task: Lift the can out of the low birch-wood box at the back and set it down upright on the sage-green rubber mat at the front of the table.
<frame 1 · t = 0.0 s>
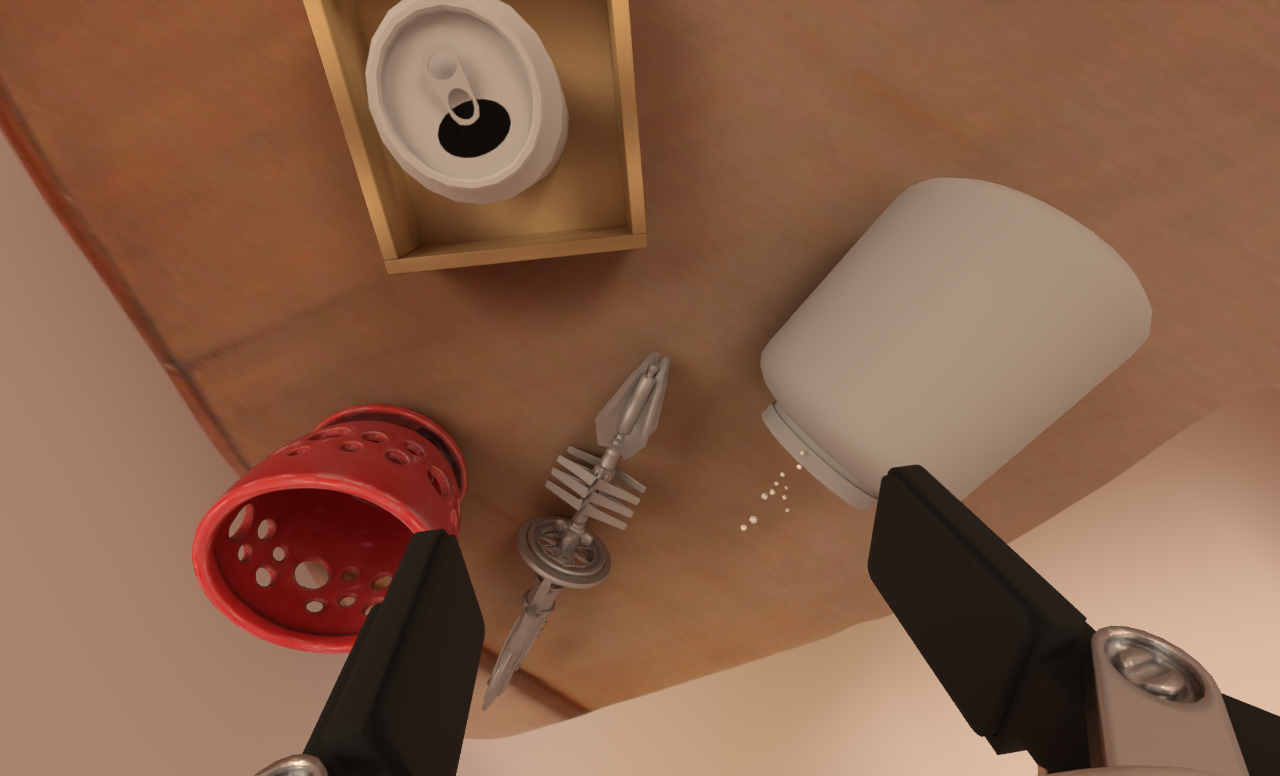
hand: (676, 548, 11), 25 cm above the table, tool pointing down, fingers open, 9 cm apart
spaceship: (566, 515, 42), on the table
jar: (835, 367, 39), on the table
flower pot: (396, 456, 38), on the table
can: (505, 119, 29), resting on wooden box
wooden box: (505, 120, 29), on the table
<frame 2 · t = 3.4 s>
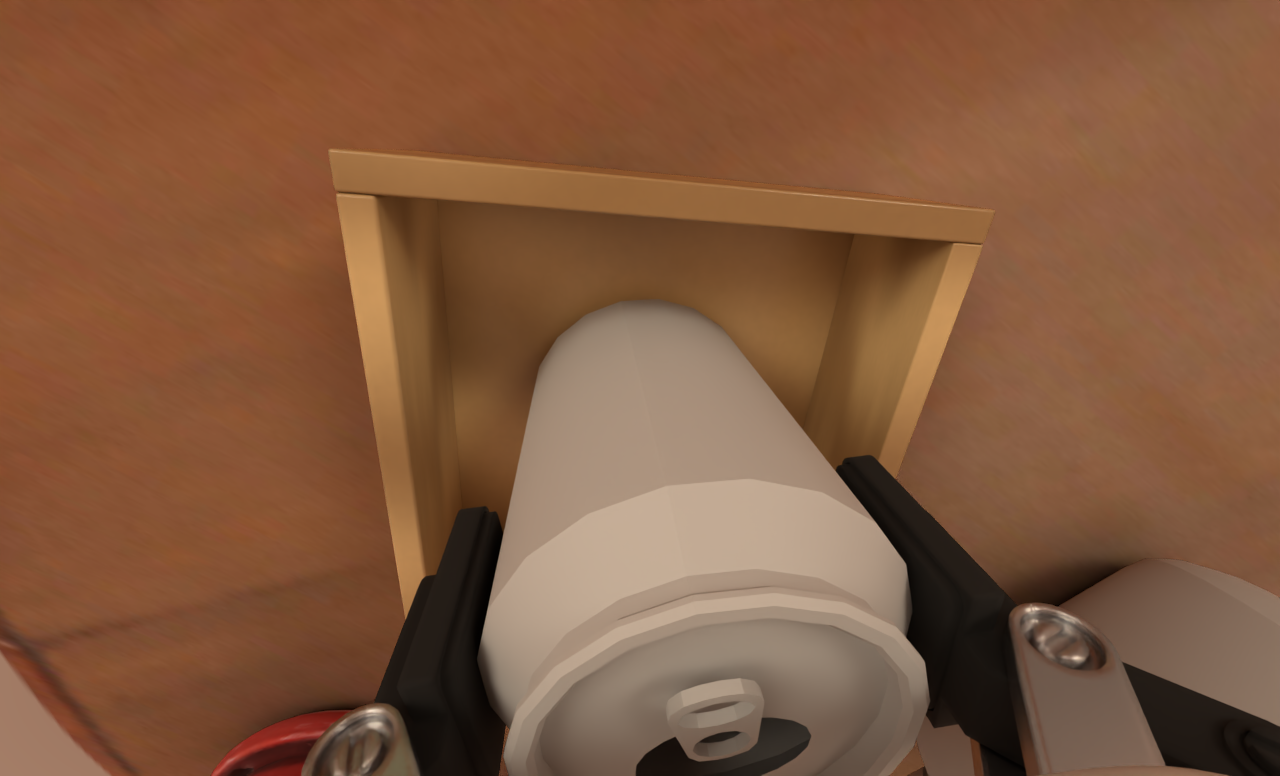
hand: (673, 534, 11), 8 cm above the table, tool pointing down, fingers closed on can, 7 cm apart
jar: (977, 687, 29), on the table
flower pot: (358, 753, 26), on the table
can: (639, 391, 18), resting on wooden box, touching gripper
wooden box: (639, 388, 18), on the table
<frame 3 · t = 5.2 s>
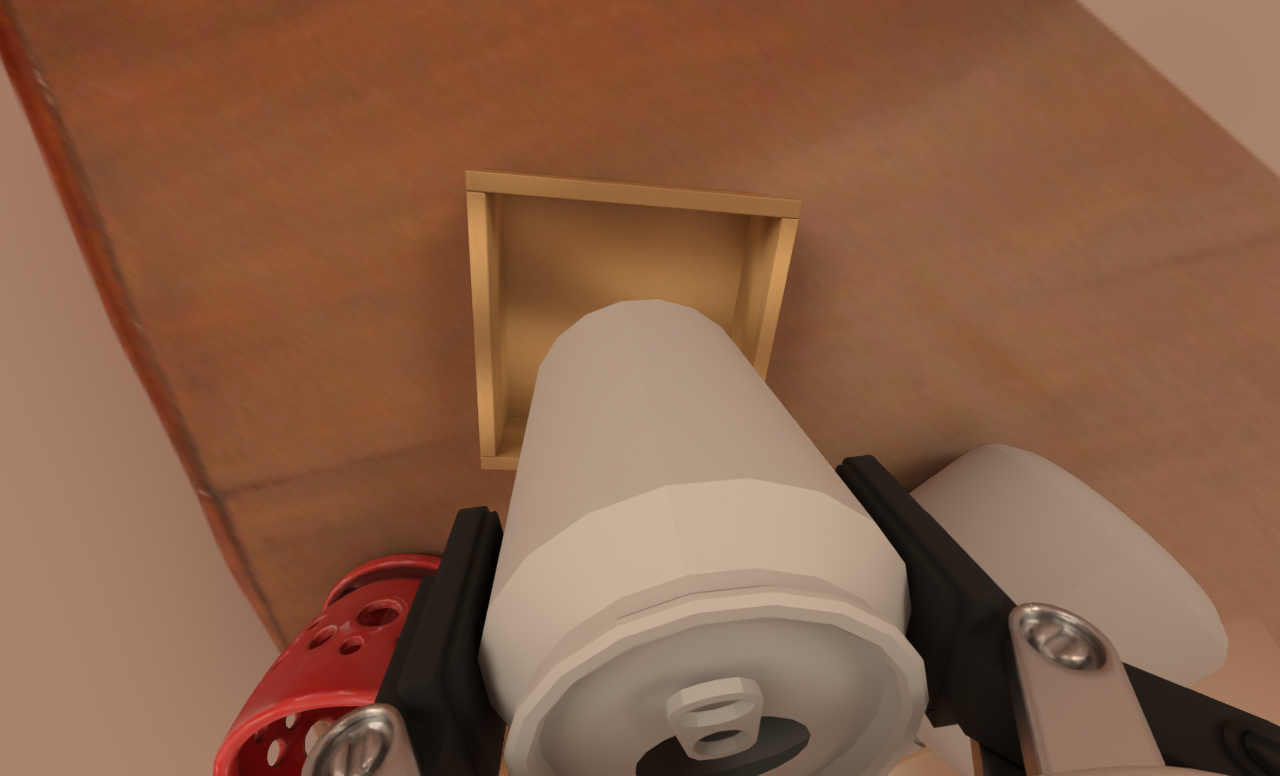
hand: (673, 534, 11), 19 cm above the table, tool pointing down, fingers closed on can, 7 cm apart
jar: (878, 562, 39), on the table
flower pot: (423, 597, 36), on the table
can: (639, 391, 18), point 11 cm above the table, touching gripper
wooden box: (621, 317, 28), on the table
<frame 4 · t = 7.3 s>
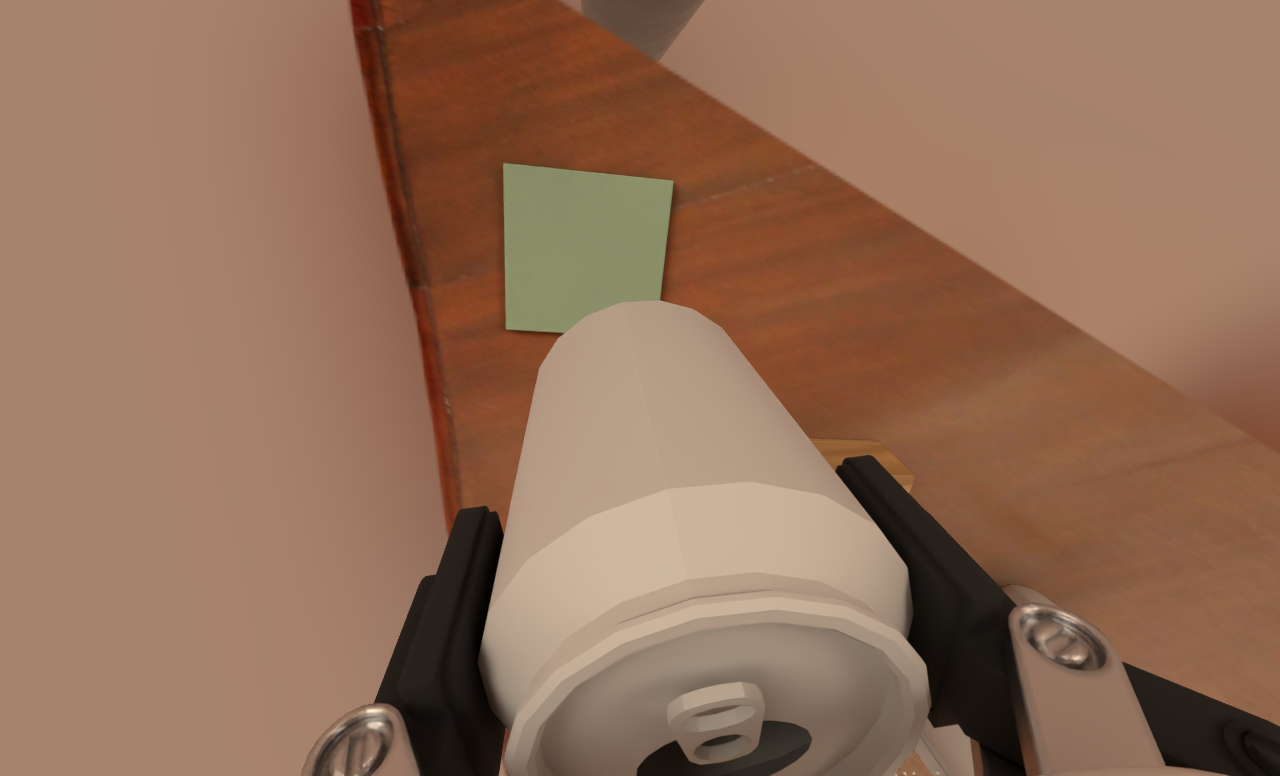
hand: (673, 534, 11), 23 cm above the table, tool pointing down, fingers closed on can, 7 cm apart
mat: (586, 257, 31), on the table
jar: (931, 654, 53), on the table
can: (640, 392, 18), point 16 cm above the table, touching gripper
wooden box: (774, 511, 42), on the table
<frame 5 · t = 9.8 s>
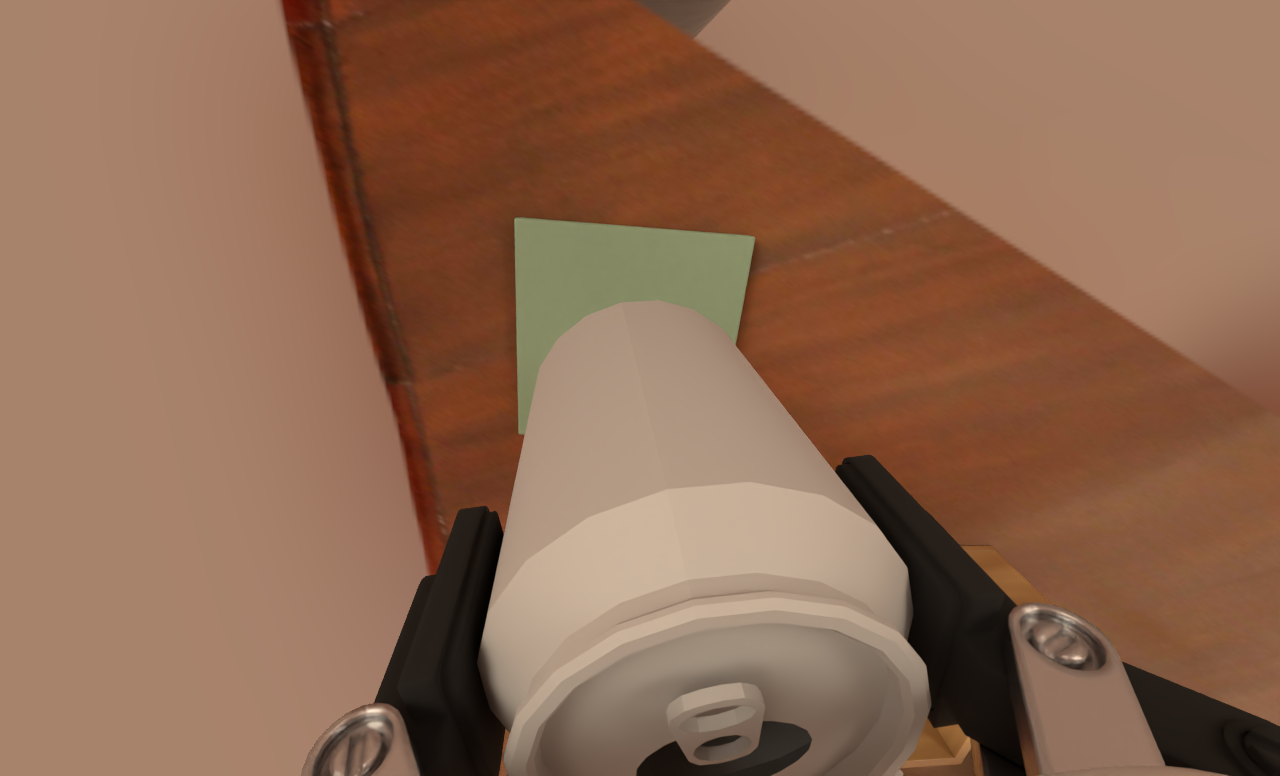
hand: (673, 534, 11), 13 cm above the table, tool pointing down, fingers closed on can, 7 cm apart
mat: (628, 338, 23), on the table
can: (640, 392, 18), point 5 cm above the table, touching gripper
wooden box: (853, 627, 33), on the table
when the fingers open (8 cm above the table, at t = 11.7 s): can stays where it is, resting on mat.
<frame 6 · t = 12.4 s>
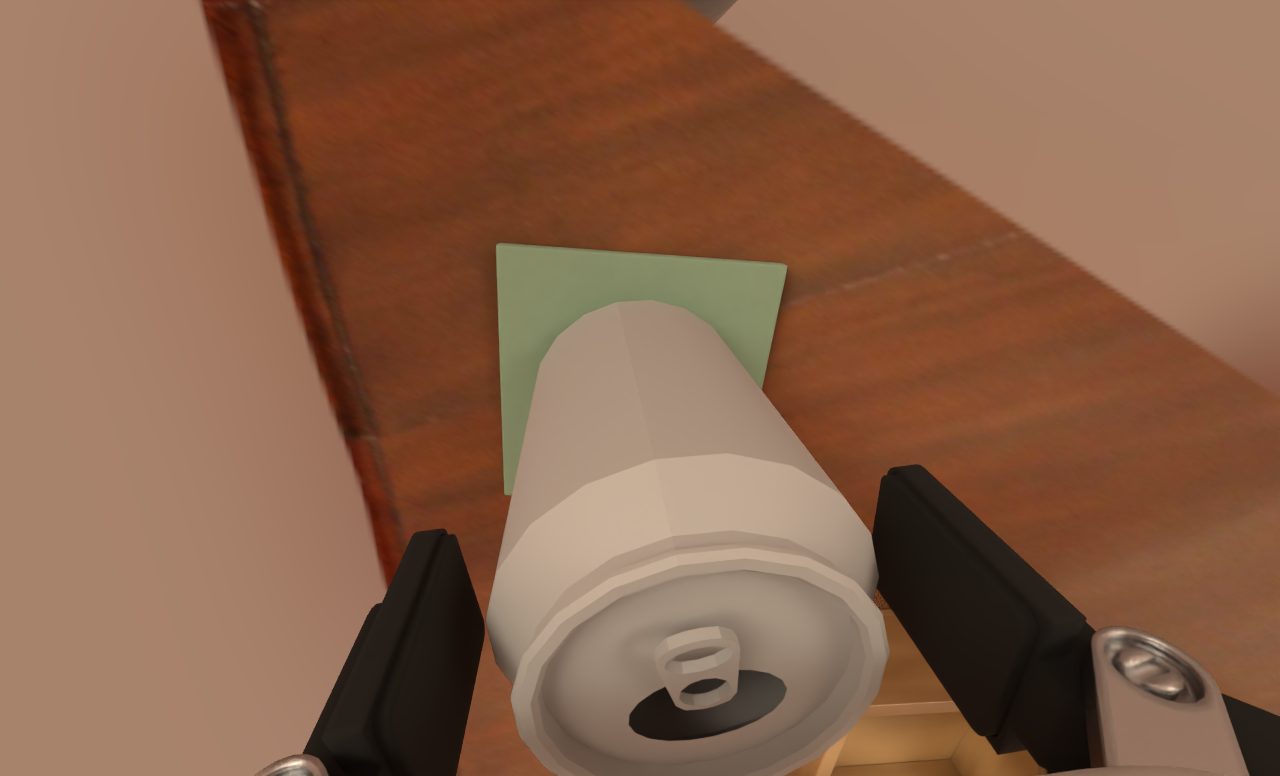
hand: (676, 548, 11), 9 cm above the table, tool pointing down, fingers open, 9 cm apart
mat: (634, 384, 19), on the table
can: (635, 387, 19), resting on mat
wooden box: (885, 694, 30), on the table
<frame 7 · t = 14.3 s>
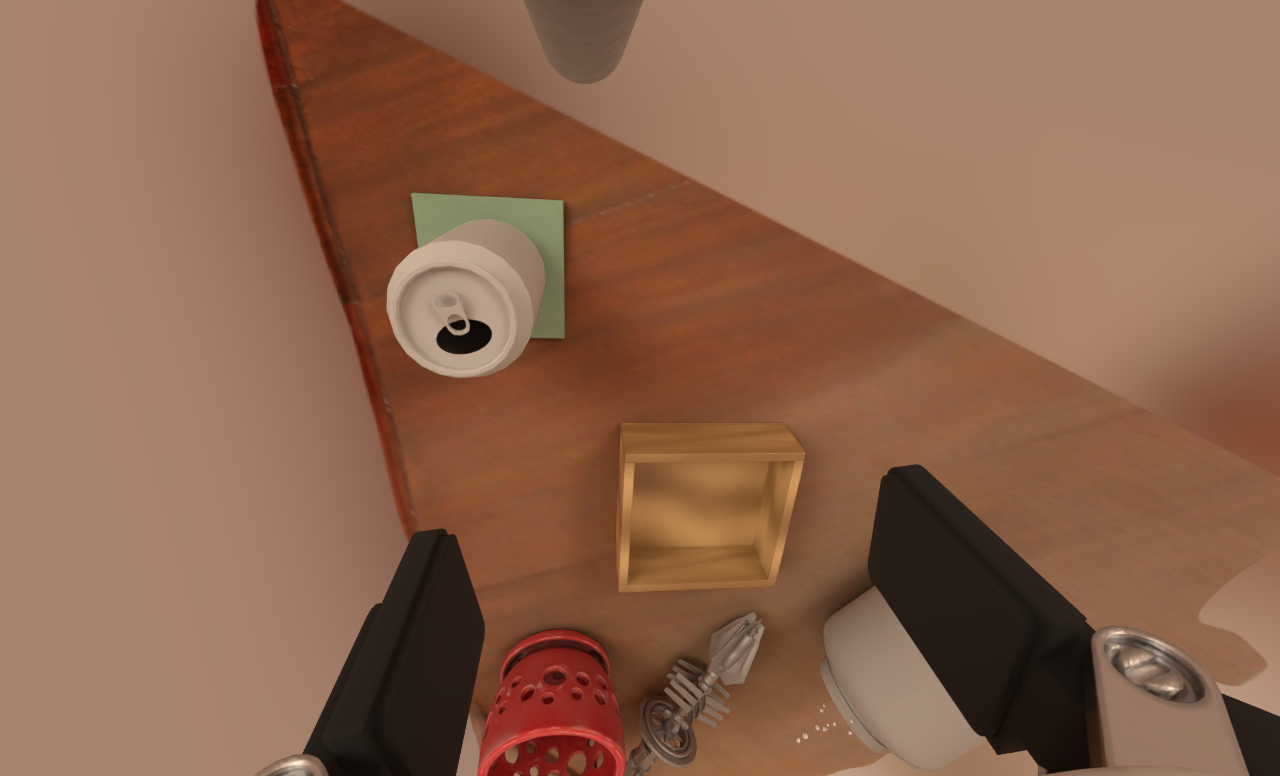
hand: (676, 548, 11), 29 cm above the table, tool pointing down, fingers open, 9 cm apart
spaceship: (660, 693, 59), on the table
mat: (494, 270, 36), on the table
jar: (863, 619, 57), on the table
flower pot: (558, 654, 54), on the table
can: (494, 271, 35), resting on mat
wooden box: (695, 490, 46), on the table
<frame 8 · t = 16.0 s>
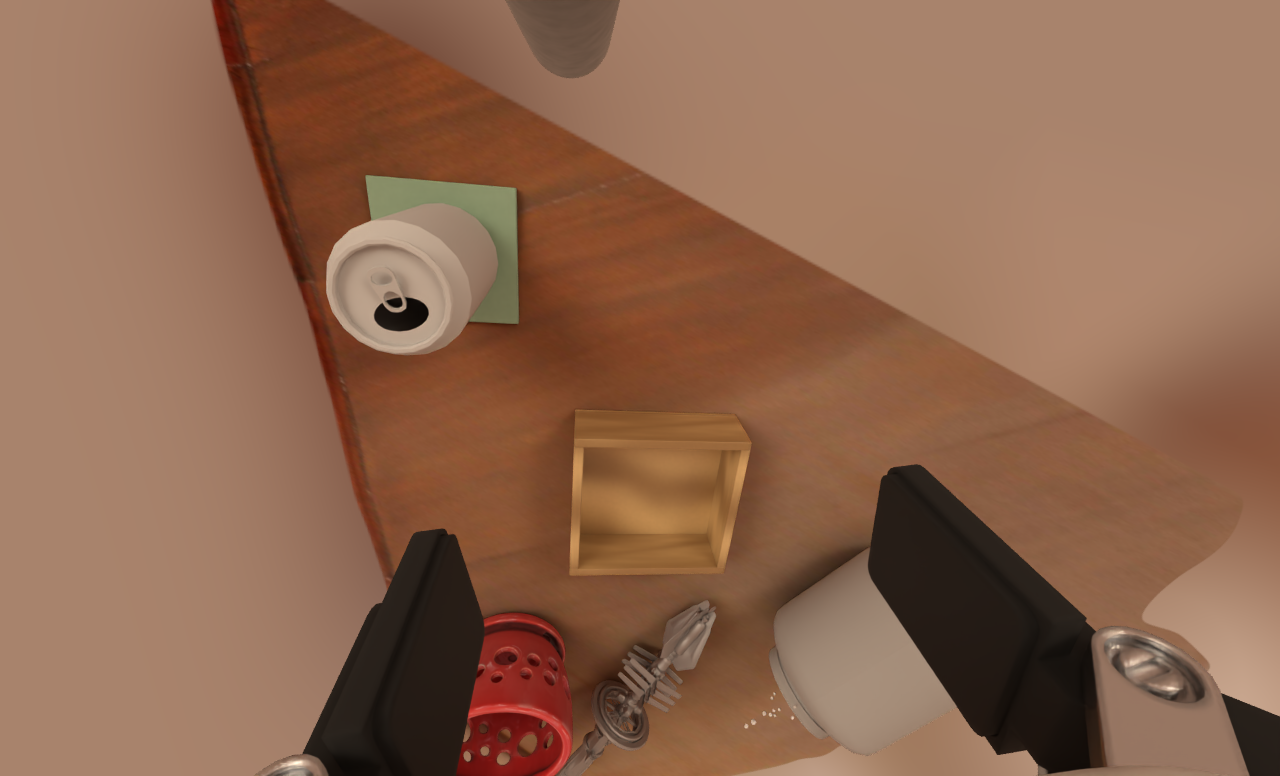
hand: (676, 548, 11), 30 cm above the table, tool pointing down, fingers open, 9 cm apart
spaceship: (617, 679, 60), on the table
mat: (449, 254, 36), on the table
jar: (816, 611, 58), on the table
flower pot: (515, 637, 55), on the table
can: (448, 255, 36), resting on mat
wooden box: (649, 478, 47), on the table
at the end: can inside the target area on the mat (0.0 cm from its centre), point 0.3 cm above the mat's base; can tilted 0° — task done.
